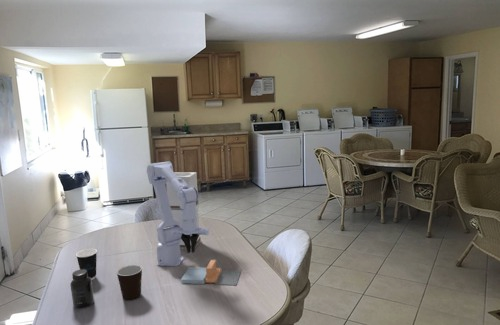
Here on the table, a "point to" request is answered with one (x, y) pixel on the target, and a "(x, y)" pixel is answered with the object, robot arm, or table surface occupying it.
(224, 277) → the pad
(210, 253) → the table surface
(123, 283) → the coffee mug
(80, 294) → the supplement bottle
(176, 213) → the tall white rectangular box
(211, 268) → the stub
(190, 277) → the light blue notched panel
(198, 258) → the table surface
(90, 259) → the dixie cup
